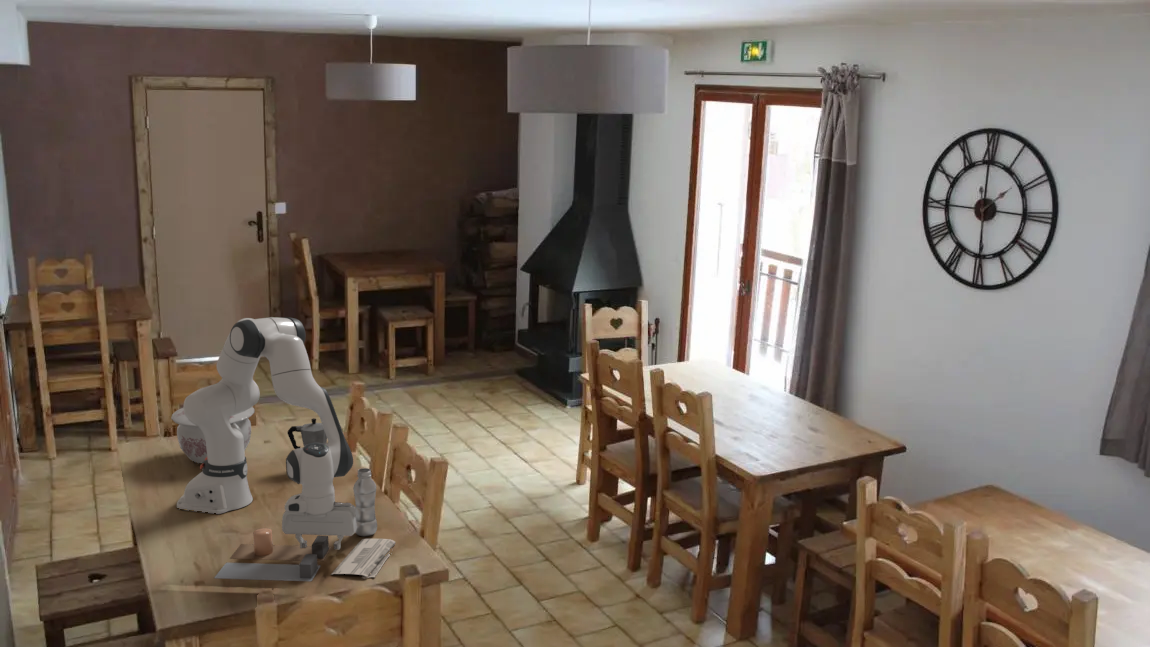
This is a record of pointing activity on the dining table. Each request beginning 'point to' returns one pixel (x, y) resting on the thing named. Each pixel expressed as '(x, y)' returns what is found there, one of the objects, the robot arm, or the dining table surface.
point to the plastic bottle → (365, 503)
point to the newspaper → (366, 558)
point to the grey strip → (272, 570)
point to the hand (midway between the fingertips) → (320, 548)
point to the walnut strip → (286, 551)
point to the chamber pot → (195, 440)
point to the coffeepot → (308, 433)
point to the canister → (263, 542)
